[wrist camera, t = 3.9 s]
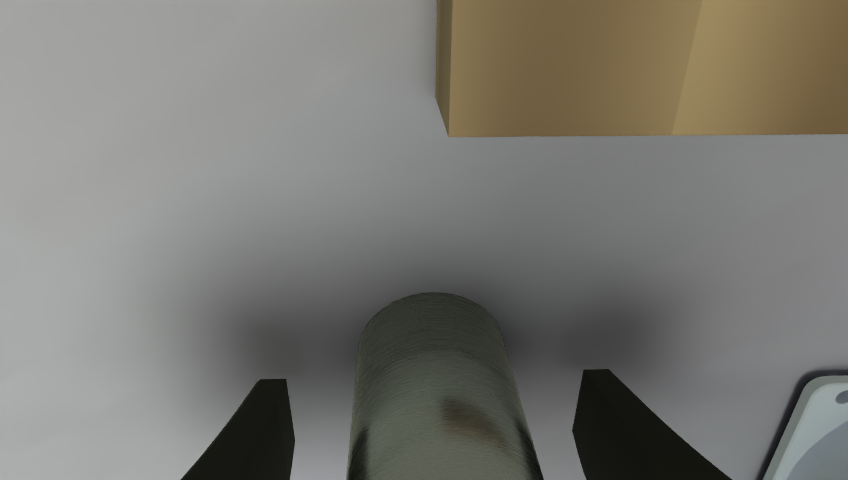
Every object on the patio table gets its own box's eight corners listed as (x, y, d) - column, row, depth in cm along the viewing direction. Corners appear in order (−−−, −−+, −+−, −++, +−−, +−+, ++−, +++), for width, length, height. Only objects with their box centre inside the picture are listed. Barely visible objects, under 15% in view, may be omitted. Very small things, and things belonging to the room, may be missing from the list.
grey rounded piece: (508, 291, 14) (604, 558, 7) (497, 405, 16) (567, 696, 9) (354, 294, 14) (320, 571, 7) (361, 409, 15) (339, 709, 9)
